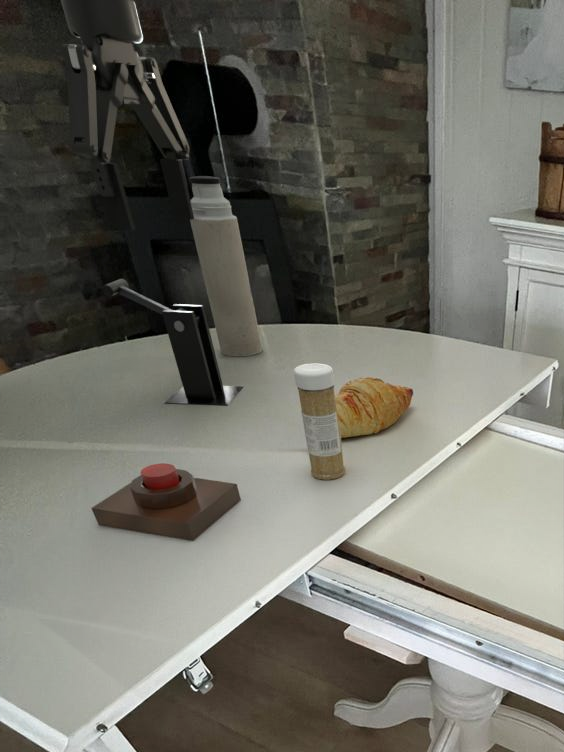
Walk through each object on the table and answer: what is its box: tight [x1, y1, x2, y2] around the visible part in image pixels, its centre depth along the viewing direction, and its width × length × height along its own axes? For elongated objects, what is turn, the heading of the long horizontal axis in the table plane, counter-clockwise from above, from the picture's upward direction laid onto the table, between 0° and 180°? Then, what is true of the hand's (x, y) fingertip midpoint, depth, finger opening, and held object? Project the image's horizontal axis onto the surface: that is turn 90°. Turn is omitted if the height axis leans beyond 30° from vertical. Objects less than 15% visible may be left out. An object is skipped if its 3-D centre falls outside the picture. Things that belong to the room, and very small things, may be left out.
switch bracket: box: [161, 303, 245, 407], centre depth 93 cm, size 10×9×14 cm
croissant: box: [334, 377, 414, 439], centre depth 90 cm, size 21×10×8 cm, turn 144°
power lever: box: [102, 278, 200, 325], centre depth 88 cm, size 12×5×2 cm, turn 90°
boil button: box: [140, 462, 180, 490], centre depth 66 cm, size 4×4×2 cm
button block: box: [91, 468, 242, 542], centre depth 68 cm, size 12×10×4 cm
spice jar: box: [293, 363, 346, 481], centre depth 74 cm, size 5×5×13 cm
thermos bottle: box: [189, 175, 263, 358], centre depth 110 cm, size 8×8×28 cm
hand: (156, 224), depth 79 cm, fingers open, 13 cm apart
